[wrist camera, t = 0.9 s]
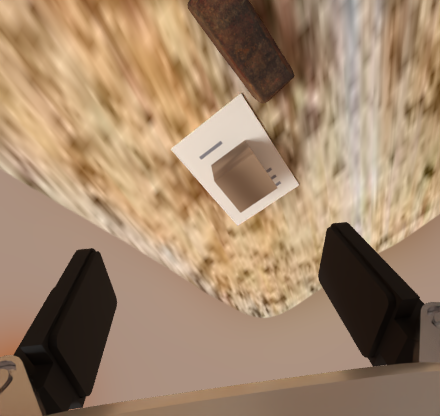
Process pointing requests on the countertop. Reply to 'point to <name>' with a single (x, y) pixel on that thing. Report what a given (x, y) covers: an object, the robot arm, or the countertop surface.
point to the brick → (244, 44)
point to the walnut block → (242, 177)
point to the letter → (226, 141)
